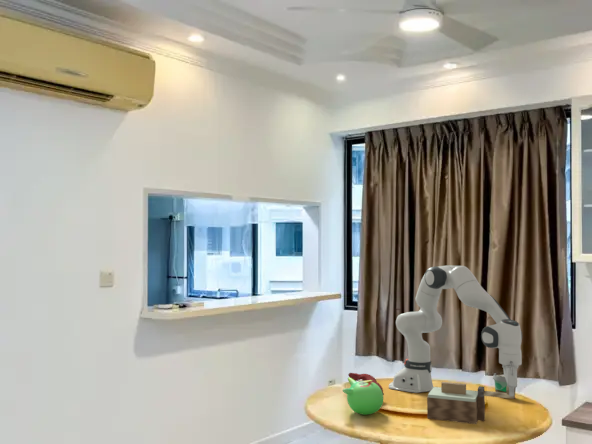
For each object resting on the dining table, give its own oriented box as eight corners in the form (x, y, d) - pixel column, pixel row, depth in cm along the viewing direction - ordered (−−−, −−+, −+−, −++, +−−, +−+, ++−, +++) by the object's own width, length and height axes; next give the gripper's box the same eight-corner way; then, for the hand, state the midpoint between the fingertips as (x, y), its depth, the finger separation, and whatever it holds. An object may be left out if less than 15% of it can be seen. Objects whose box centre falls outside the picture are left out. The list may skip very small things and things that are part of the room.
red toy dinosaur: (357, 396, 306) (339, 376, 302) (368, 382, 309) (351, 363, 305) (388, 411, 280) (369, 389, 276) (400, 396, 283) (382, 374, 279)
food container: (487, 395, 292) (487, 374, 293) (495, 393, 296) (495, 372, 296) (510, 400, 283) (509, 379, 283) (517, 398, 286) (517, 377, 286)
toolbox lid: (428, 399, 255) (427, 384, 255) (433, 391, 268) (433, 377, 268) (475, 404, 247) (475, 389, 247) (479, 396, 260) (478, 381, 260)
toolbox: (427, 418, 255) (427, 386, 255) (433, 409, 267) (433, 379, 268) (482, 425, 246) (482, 392, 246) (485, 415, 259) (485, 384, 259)
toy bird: (382, 420, 252) (382, 385, 252) (342, 418, 255) (342, 383, 255) (384, 408, 269) (384, 375, 270) (347, 406, 273) (346, 374, 273)
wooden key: (481, 395, 252) (481, 384, 252) (481, 394, 254) (481, 383, 254) (514, 398, 247) (514, 387, 247) (514, 397, 249) (514, 386, 249)
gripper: (520, 365, 238) (521, 400, 238) (516, 355, 258) (516, 387, 258) (504, 364, 240) (504, 399, 239) (500, 354, 259) (500, 386, 259)
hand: (510, 393), depth 249 cm, fingers open, 8 cm apart
